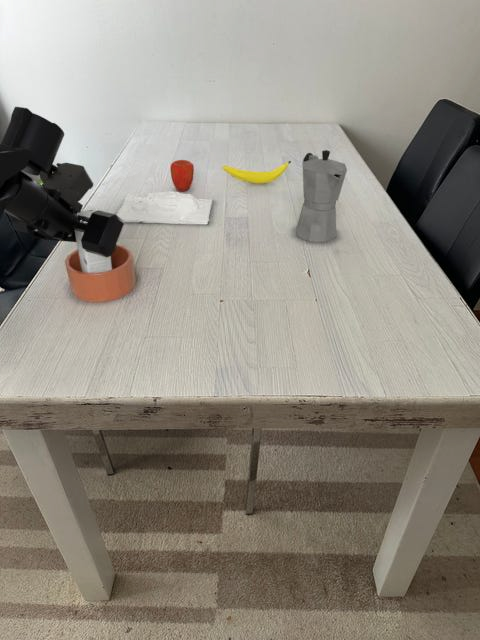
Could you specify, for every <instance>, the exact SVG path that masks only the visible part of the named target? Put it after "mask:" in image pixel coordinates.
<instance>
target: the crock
mask: <svg viewBox="0 0 480 640" xmlns="http://www.w3.org/2000/svg"><path fill="white" fill-rule="evenodd" d="M116 245H117V248H116V250H115V252H113V253H112V255H111V264H112V270H109V271H106V272H99V273H84V272H82V269H81V264H80V258H79V252H78V248H77V249H75V250H74V251H72V252H71V253H69V254H68V255H67V256H66V258H65V260H64V265H65V269H66V273H67V277H68V281H69V285H70V289H71V293H72V294H73V295H74V297H75V298H77V299H78V300H81V301H85V302H89V303H104V302H105V303H106V302H110V301H114V300H118V299H121V298H123V297H125V296H127V295H128V294H130V293H131V292H132V291H133V290H134V288H135V286H136V282H137V281H136V279H137V277H136V272H135V264H134V258H133V257H134V256H133V254H132V252H131V250H130V249H129V248H128V247H126V246H123V245H120V244H118V243H116Z"/></svg>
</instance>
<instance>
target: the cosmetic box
mask: <svg viewBox="0 0 480 640" xmlns="http://www.w3.org/2000/svg"><path fill="white" fill-rule="evenodd" d="M97 210H98V209H96V208H91V209H86V210H85V209H84V210H81V212H80V213H77V215H81V216H85V217H89V218H90V216H91V214H92V213H93V212H95V211H97ZM80 223H81V222H80ZM84 224H85V223H84ZM74 231H75V236H76V242H75V243H76V247H77V249H78V252H79V258H80V264H81V269H82V272H84V273H99V272H106V271H109V270H112V264H111V256H109V257H108V258H107V257H104V256H100V255H97V254H93V253H90V252H86V250H85V249H83V248H82V243H81V239H82V236H83V234H84V232H80V231H76V230H74Z"/></svg>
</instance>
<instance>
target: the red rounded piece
mask: <svg viewBox="0 0 480 640" xmlns="http://www.w3.org/2000/svg"><path fill="white" fill-rule="evenodd" d="M169 169H170V177H171V181H172V184H173V186H174V188H175V189H176V191H178V192H185V191H188V190H189V189H190V188H191V186H192V184H193V181H194V174H195V167H194V163H192V162H191V161H190V160H185V159H177V160H174V161H173V162H171V164H170V168H169Z"/></svg>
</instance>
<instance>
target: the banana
mask: <svg viewBox="0 0 480 640" xmlns="http://www.w3.org/2000/svg"><path fill="white" fill-rule="evenodd" d="M291 163H292V161H291V160H288V162H286V163H284V164H282V165H280V166H278V167H277V168H275V169H273V170H270V171H251V170H244V169H240V168H235V167H232V166H227V165H221V166H220V167H221V168H222V169H223V170H224V171H225V172H226V173H227V174H228V175H229V176H231V177H233V178H234V179H236V180H239V181H242V182H246V183H251V184H258V185H260V184H261V185H262V184H268V183H271V182H274V181H275V180H277V179H279V177H281V176H282V175H283V174H284V173H285V171H286V170H287V168H288V166H289V165H290V164H291Z"/></svg>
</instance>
